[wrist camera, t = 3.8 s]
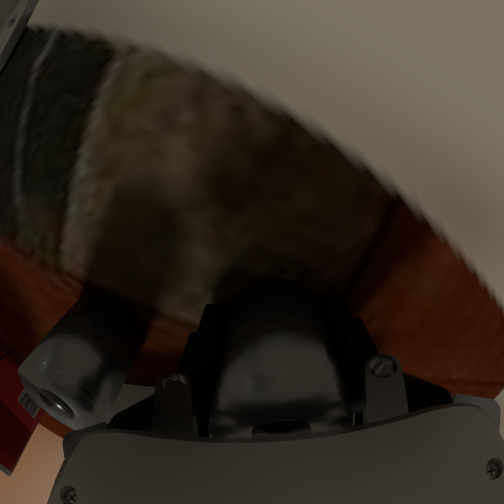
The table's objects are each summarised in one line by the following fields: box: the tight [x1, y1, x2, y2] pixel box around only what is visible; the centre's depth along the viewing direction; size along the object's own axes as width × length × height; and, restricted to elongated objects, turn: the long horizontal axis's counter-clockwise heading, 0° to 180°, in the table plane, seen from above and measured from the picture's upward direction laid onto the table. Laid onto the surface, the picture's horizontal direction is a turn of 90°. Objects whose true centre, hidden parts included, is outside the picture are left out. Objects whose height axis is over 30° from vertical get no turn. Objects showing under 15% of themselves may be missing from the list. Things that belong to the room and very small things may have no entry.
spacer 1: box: [18, 291, 145, 430], centre depth 10 cm, size 4×4×6 cm
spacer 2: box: [208, 278, 353, 438], centre depth 9 cm, size 4×4×6 cm
